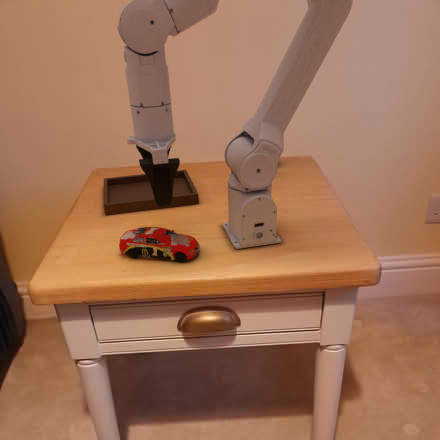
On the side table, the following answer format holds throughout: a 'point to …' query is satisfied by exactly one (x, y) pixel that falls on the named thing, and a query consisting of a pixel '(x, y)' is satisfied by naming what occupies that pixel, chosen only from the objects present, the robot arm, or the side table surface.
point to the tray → (145, 193)
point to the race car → (158, 244)
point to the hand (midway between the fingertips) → (161, 195)
